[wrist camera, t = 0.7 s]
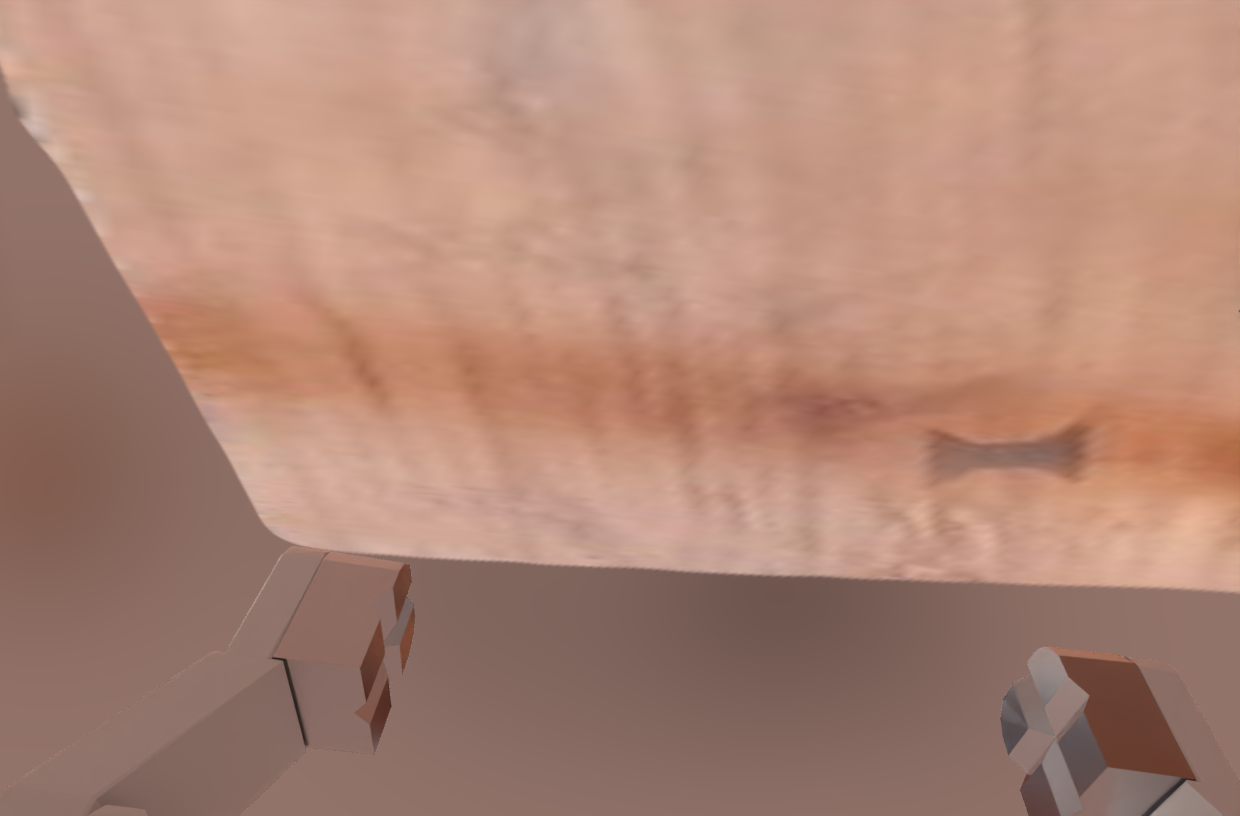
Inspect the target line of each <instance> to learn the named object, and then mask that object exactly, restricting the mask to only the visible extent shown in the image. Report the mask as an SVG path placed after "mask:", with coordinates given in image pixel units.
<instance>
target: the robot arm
mask: <svg viewBox="0 0 1240 816" xmlns="http://www.w3.org/2000/svg"><path fill="white" fill-rule="evenodd" d="M411 583H412V576H411V569H410V565H409V564H406V563H401V562H395V561H388V560H382V559H376V558H370V557H363V556H357V555H351V554H344V553H338V552H332V551H324V550H317V549H310V548H303V547H296V546H291V547H290V548H289V549H288V550H287V551H286V552H284V553H283V554H282V555H281V556H280V558H279V560H278V561H277V563H276V565H275V567H274V568H273V570H272V572H271V574H270V575H269V577H268V579H267V580H266V582H265V584H264V586H263V587H262V589H261V591H260V593H259V594H258V596H257V598H256V600H255V601H254V603H253V605H252V606H251V608H250V610H249V612H248V613H247V615H246V617H245V619H244V621H243V622H242V624H241V626H240V627H239V629H238V631H237V633H236V634H235V636H234V638H233V640H232V641H231V643H230V645H229V646H228V648H227V650H226V652H216V651H213V652H211V653H210V654H208V655H206V656H205V657H203V658H202V659H201V660H199V661H197V662H196V663H194V664H193V665H191V666H190V667H188V668H187V669H185V670H184V671H182V672H181V673H179V674H178V675H176V676H175V677H173V678H172V679H170V680H168V681H167V682H165V683H164V684H162V685H161V686H159V687H158V688H156V689H155V690H153V691H152V692H150V693H149V694H147V695H146V696H144V697H143V698H141V699H140V700H138V701H137V702H135V703H134V704H132V705H131V706H129V707H128V708H126V709H124V710H123V711H121V712H120V713H118V714H117V715H115V716H114V717H112V718H111V719H109V720H108V721H106V722H105V723H103V724H102V725H100V726H99V727H97V728H95V729H94V730H92V731H91V732H90V733H88V734H86V735H85V736H83V737H82V738H80V739H79V740H77V741H76V742H74V743H73V744H71V745H70V746H68V747H67V748H65V749H64V750H62V751H61V752H59V753H57V754H56V755H55V756H53V757H51V758H50V759H48V760H47V761H45V762H44V763H42V764H41V765H39V766H38V767H36V768H35V769H33V770H32V771H30V772H29V773H27V774H26V775H24V776H23V777H21V778H19V779H18V780H16V781H15V782H13V783H12V784H10V785H9V786H7V787H6V789H5V790H4V792H3V793H2V794H1V796H0V816H240V815H241V814H242V813H243V812H244V811H245V810H246V809H247V808H248V807H249V806H250V805H251V804H252V803H253V802H254V801H255V800H256V799H258V798H259V797H260V796H261V795H262V794H263V793H264V792H265V791H266V790H267V789H268V788H269V787H270V786H271V785H272V784H273V783H274V782H275V781H276V780H277V779H279V778H280V777H281V776H282V775H283V774H284V773H285V772H286V771H287V770H288V769H289V768H290V767H291V766H292V765H293V764H294V763H295V762H296V761H297V760H299V759H300V758H301V757H302V756H303V755H304V754H305V753H306V748H315V749H325V750H333V751H343V752H352V753H362V754H372V755H374V754H375V751H376V749H377V746H378V743H379V740H380V737H381V735H382V732H383V729H384V726H385V723H386V721H387V718H388V715H389V712H390V709H391V707H392V706H391V697H390V688H389V685H391V684H392V683H393V682H394V681H396V680H397V679H398V678H399V677H401V676H402V675H403V672H404V669H405V666H406V663H407V660H408V657H409V653H410V649H411V644H412V639H413V634H414V624H415V609H414V603H413V602H412V601H411V600H410V599H409V598H408V597H407V594H408V591H409V589H410V586H411ZM1027 664H1028V667H1029V670H1030V672H1031V675H1029V676H1027V677H1025V678H1023V679H1020V680H1019V681H1016V682H1014V683H1012V685H1011V687H1010V689H1009V690H1008V692H1007V693H1006V695H1005V697H1004V698H1003V704H1002V711H1001V718H1000V719H1001V728H1002V736H1003V739H1004V743H1005V746H1006V749H1007V752H1008V755H1009V756H1010V757H1011V759H1013V760H1014V762H1016V764H1017V765H1018V766H1019V767H1020V768H1021V769H1022V770H1023V771H1024V772H1025V773H1026V776H1025V778H1024V781H1023V783H1022V786H1021V788H1020V792H1021V794H1022V797H1023V800H1024V803H1025V806H1026V809H1027V812H1028V815H1029V816H1240V780H1239V778H1238V776H1237V775H1236V773H1235V771H1234V769H1233V767H1232V766H1231V764H1230V762H1229V760H1228V759H1227V757H1226V755H1225V754H1224V752H1223V750H1222V748H1221V746H1220V745H1219V743H1218V741H1217V740H1216V738H1215V736H1214V734H1213V732H1212V731H1211V729H1210V727H1209V725H1208V724H1207V722H1206V720H1205V718H1204V717H1203V715H1202V713H1201V711H1200V710H1199V708H1198V706H1197V704H1196V703H1195V701H1194V699H1193V698H1192V696H1191V694H1190V692H1189V690H1188V689H1187V687H1186V685H1185V683H1184V682H1183V680H1182V678H1181V676H1180V674H1179V673H1178V672H1177V670H1176V669H1174V668H1173V667H1172V666H1171V665H1170V664H1169V663H1168V662H1162V661H1155V660H1147V659H1140V658H1132V657H1122V656H1120V655H1115V654H1106V653H1097V652H1090V651H1081V650H1073V649H1064V648H1056V647H1048V646H1045V647H1043V648H1041V649H1038V650H1036V651H1035V652H1034V654H1033V655H1032V657H1031V658H1030V659H1029V661H1028V662H1027Z"/></svg>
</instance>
